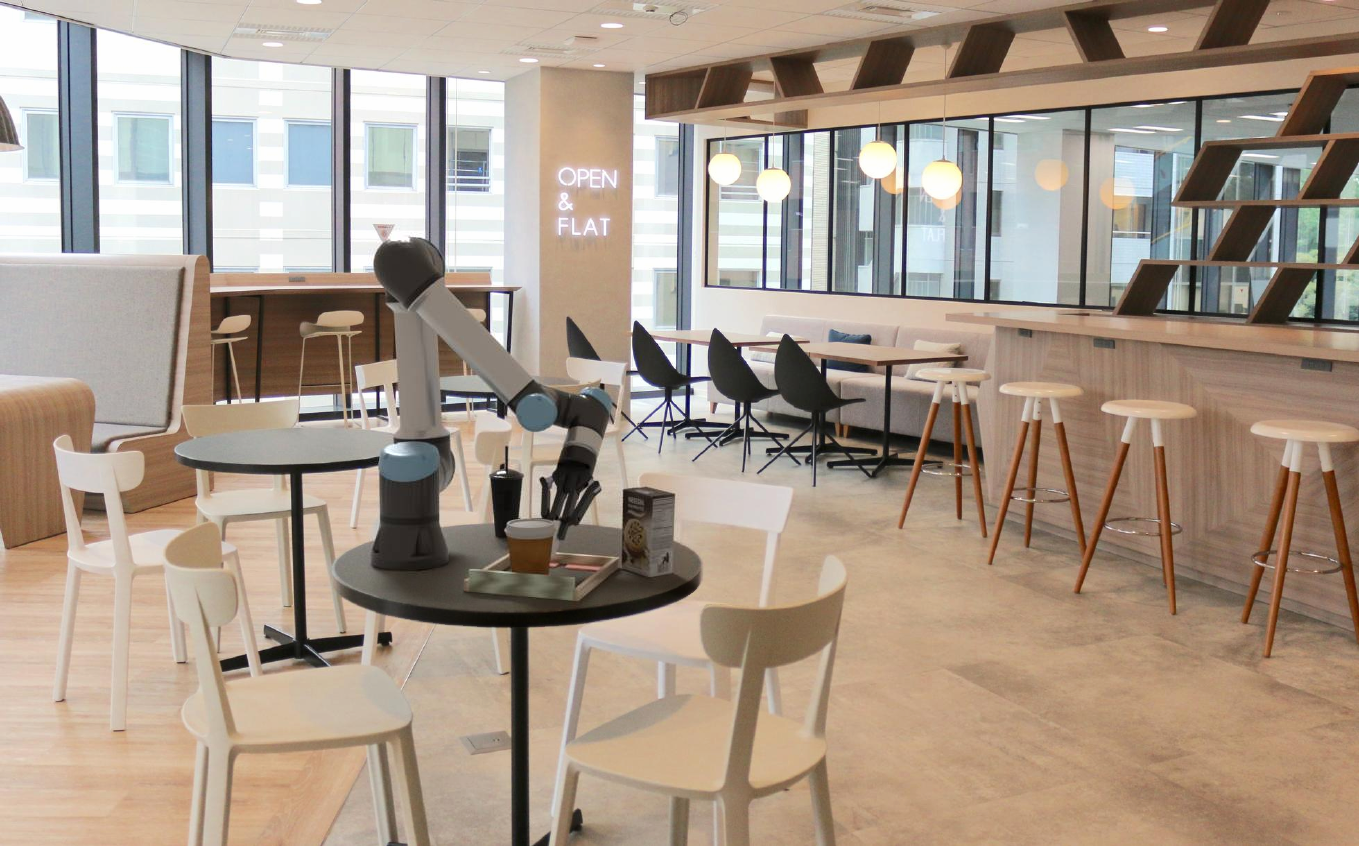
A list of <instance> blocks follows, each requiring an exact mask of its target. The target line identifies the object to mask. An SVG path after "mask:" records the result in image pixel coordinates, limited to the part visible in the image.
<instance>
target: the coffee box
mask: <svg viewBox="0 0 1359 846" xmlns="http://www.w3.org/2000/svg"><path fill="white" fill-rule="evenodd" d="M675 504H676V493H674V492H673V493H672V492H669V491H665V490H661V489H656V488H654V487H648V486H641V487H629V488H623V489H622V515H621V516H622V519H621V520H622V521H621V522H622V523H621V524H622V526H621V527H622V528H621V529H622V530H621V531H622V533H621V569H623V570H627V571H630V572H632V573H635V574H639V575H642V576H645V577H648V578H654V577H658V576H664V575H669V574H673V573H674V572H673V571H674V568H673V567H674V566H673V565H674V539H675V536H674V535H675V533H674V532H675V512H676V511H675V509H676V508H675V507H676V505H675Z"/></svg>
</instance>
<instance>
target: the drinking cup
mask: <svg viewBox="0 0 1359 846" xmlns="http://www.w3.org/2000/svg"><path fill="white" fill-rule="evenodd" d="M524 477H525V474H524V473H522V472H520V471H518V470H515V469H513V468H509V446H508V445H505V446H504V468H502V469H498V470H496V471H494V472H491V473H489V475H488V478H489V479H490V490H491V502H492V515H493V522H494V523H493V524H494V535H495V537H498V538H507V535H506V532H505V528H506V526H507V522H509V521H512V520H516V519H520V511H521V510H520V509H521V499H522V498H521V497H522V488H523V478H524Z"/></svg>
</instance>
